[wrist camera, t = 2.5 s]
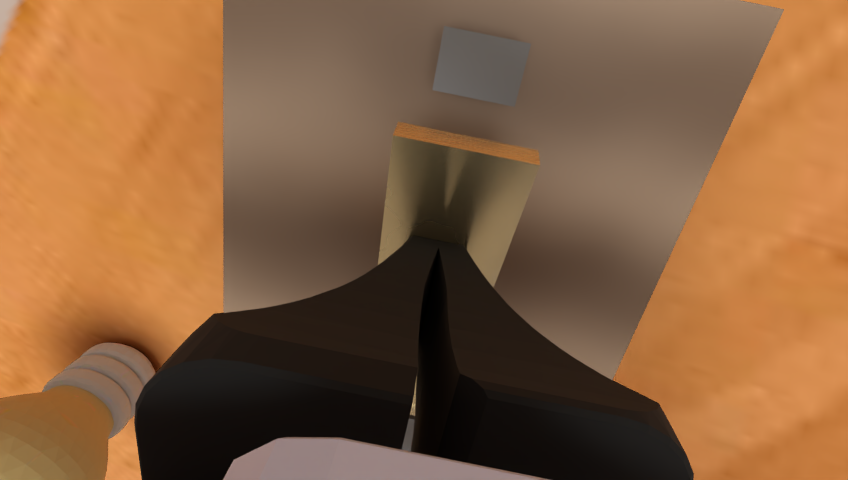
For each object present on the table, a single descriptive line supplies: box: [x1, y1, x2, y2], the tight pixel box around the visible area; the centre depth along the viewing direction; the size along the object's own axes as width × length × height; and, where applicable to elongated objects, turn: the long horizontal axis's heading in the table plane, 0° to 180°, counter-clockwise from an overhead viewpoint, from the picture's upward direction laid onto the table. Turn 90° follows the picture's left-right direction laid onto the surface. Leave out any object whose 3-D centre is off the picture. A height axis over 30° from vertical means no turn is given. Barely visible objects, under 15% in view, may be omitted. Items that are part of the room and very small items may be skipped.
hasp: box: [378, 122, 540, 416], centre depth 13 cm, size 11×3×1 cm, turn 170°
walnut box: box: [223, 0, 784, 452], centre depth 16 cm, size 18×14×6 cm
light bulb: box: [0, 343, 155, 480], centre depth 18 cm, size 6×6×10 cm
